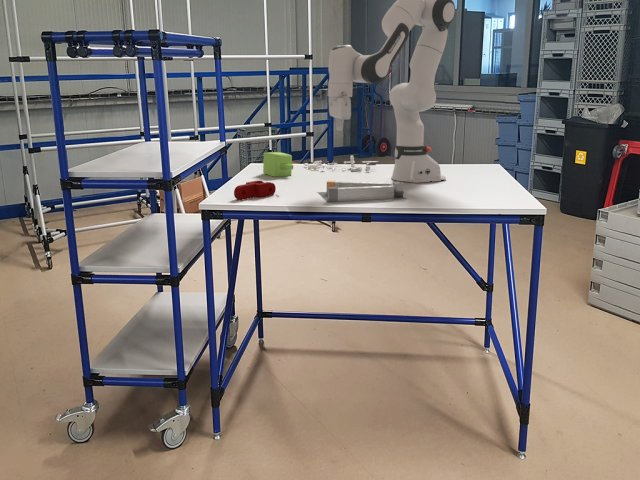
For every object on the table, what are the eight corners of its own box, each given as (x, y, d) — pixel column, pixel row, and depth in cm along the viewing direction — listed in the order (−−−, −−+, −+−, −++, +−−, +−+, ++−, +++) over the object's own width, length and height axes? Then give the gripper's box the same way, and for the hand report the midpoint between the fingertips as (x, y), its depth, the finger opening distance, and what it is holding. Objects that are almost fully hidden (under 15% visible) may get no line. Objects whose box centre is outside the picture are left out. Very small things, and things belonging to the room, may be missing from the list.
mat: (390, 191, 218) (390, 189, 218) (406, 201, 202) (407, 198, 201) (317, 194, 213) (317, 192, 213) (328, 205, 196) (328, 202, 196)
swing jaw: (391, 194, 208) (391, 182, 207) (390, 195, 206) (391, 183, 205) (327, 192, 212) (327, 180, 211) (326, 193, 210) (326, 181, 208)
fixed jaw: (401, 195, 207) (401, 181, 206) (406, 198, 202) (406, 184, 201) (325, 198, 202) (325, 184, 200) (329, 202, 197) (329, 187, 195)
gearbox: (300, 177, 251) (301, 155, 249) (280, 179, 246) (281, 156, 243) (279, 171, 266) (279, 150, 263) (260, 172, 260) (260, 151, 258)
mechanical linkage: (262, 192, 219) (261, 179, 217) (275, 195, 214) (275, 181, 213) (229, 199, 207) (229, 185, 206) (243, 202, 202) (242, 188, 201)
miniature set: (378, 166, 273) (377, 175, 262) (305, 169, 278) (301, 178, 267) (378, 153, 270) (377, 161, 260) (304, 156, 276) (300, 164, 265)
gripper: (355, 92, 201) (354, 133, 205) (342, 91, 221) (341, 128, 224) (338, 92, 200) (337, 133, 204) (326, 91, 220) (325, 128, 223)
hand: (339, 130), depth 214 cm, fingers closed
